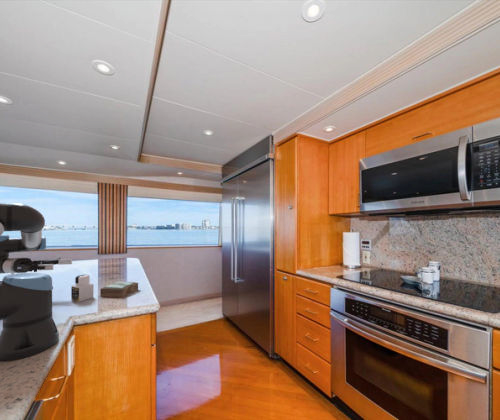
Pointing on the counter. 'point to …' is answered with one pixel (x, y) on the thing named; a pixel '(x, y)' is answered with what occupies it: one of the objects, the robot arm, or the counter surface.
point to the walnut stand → (119, 289)
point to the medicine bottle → (82, 288)
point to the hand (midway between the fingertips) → (62, 264)
